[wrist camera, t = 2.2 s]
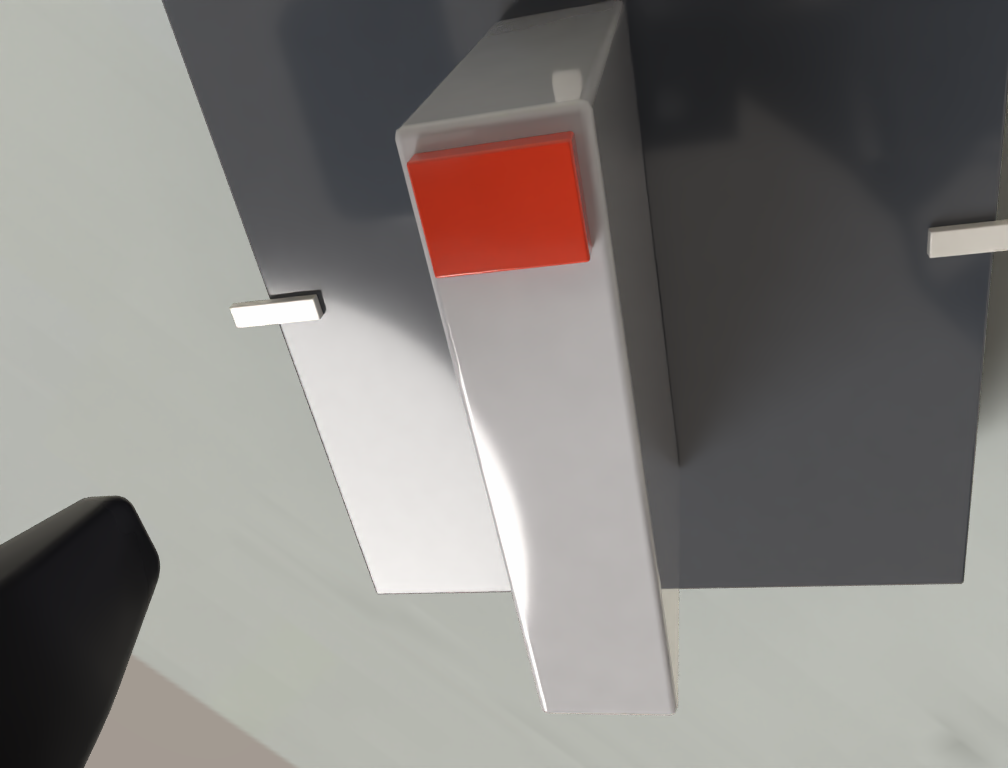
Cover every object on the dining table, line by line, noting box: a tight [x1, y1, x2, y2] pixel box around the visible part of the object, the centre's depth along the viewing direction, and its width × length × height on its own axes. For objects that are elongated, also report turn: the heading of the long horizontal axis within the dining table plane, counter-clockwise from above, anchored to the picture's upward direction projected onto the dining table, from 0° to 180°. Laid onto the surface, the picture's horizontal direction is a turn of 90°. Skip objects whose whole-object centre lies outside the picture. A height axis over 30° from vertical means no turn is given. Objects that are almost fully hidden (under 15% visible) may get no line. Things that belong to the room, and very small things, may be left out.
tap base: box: [162, 0, 1008, 594], centre depth 13 cm, size 12×11×3 cm
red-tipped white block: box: [395, 0, 680, 716], centre depth 10 cm, size 7×2×5 cm, turn 11°
